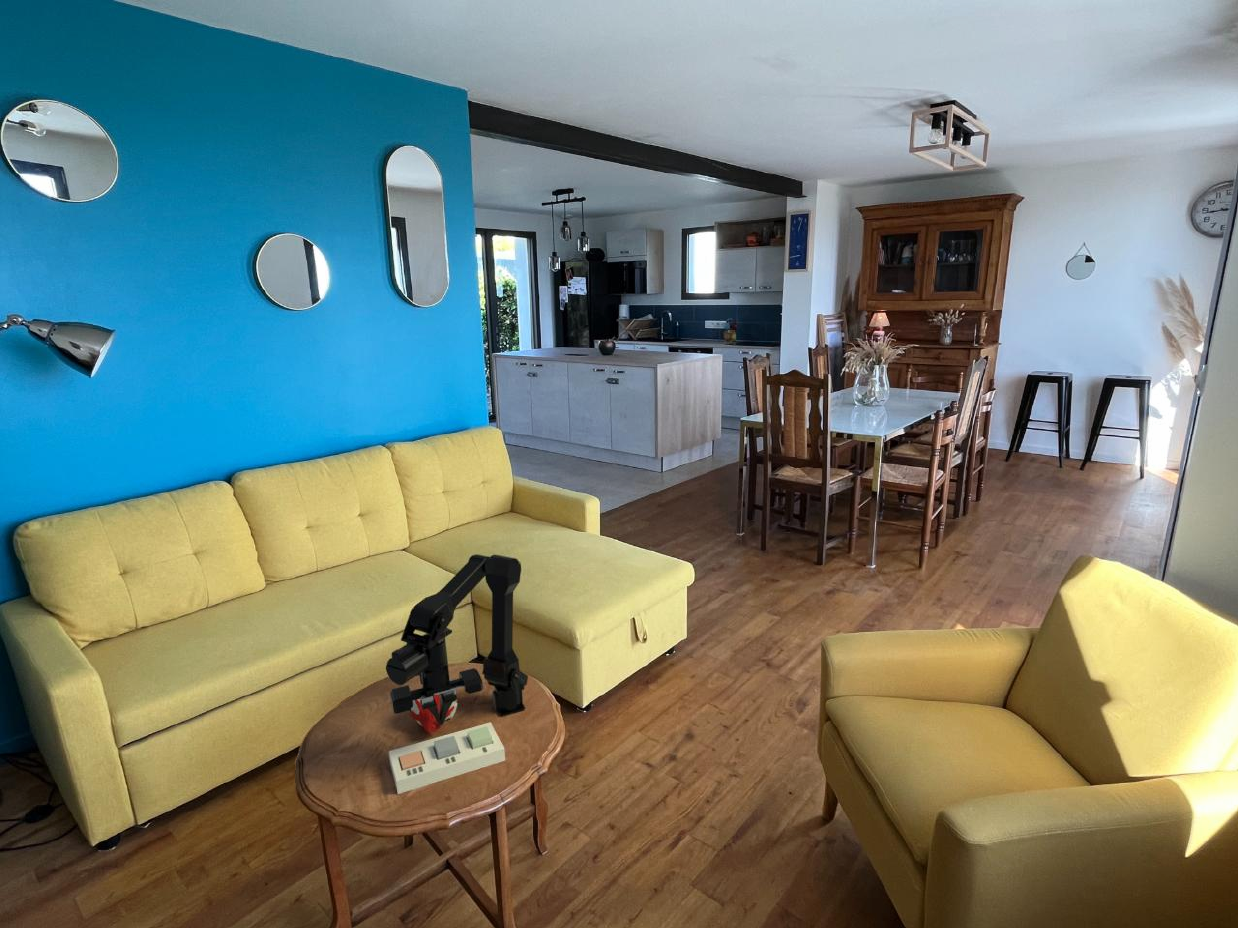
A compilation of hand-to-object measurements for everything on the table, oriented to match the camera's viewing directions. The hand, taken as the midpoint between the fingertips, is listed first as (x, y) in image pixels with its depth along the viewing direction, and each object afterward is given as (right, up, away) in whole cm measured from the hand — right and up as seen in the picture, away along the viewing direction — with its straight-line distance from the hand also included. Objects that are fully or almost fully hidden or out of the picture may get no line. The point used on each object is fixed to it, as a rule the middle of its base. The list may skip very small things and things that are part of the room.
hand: (440, 724), depth 150 cm
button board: (+1, -9, +2) cm, 9 cm away
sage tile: (+8, -6, +5) cm, 11 cm away
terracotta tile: (-6, -9, -1) cm, 11 cm away
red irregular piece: (-6, -6, +16) cm, 19 cm away
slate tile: (+1, -7, +2) cm, 7 cm away
